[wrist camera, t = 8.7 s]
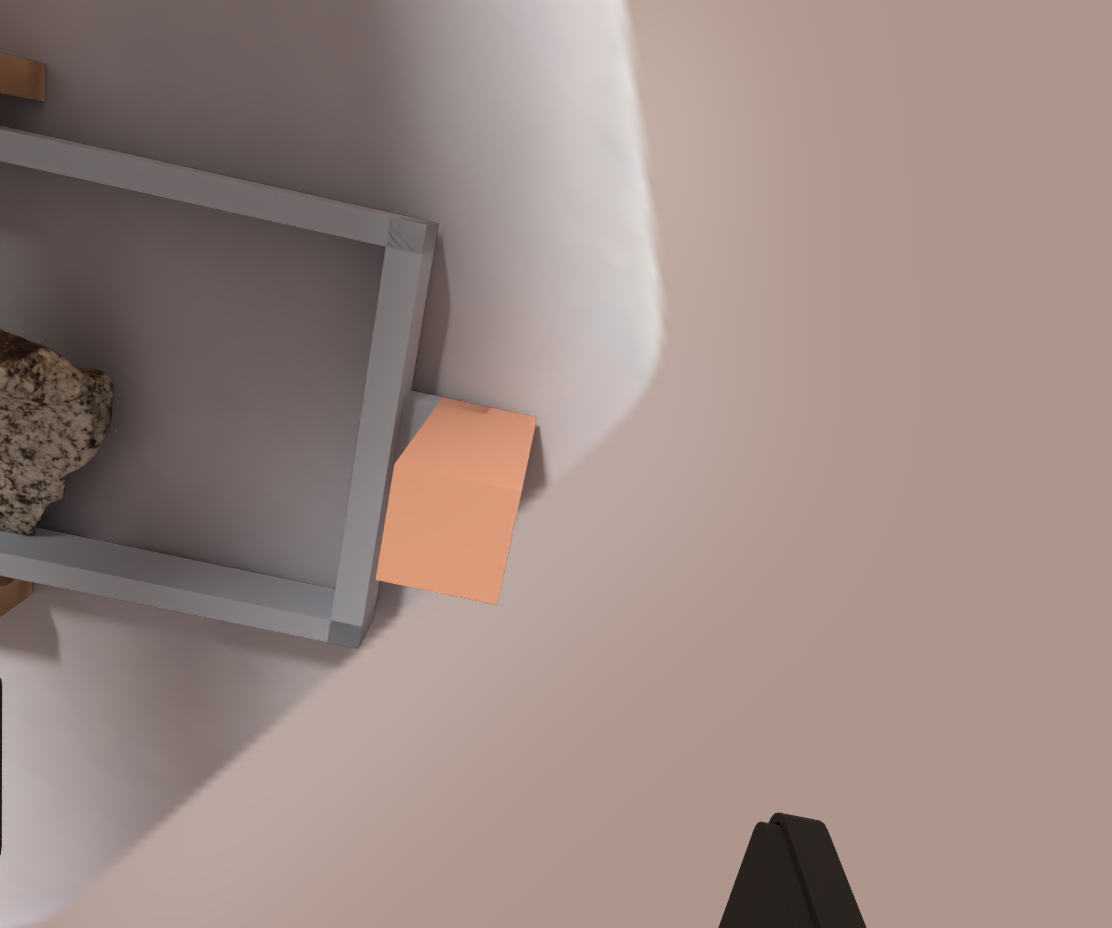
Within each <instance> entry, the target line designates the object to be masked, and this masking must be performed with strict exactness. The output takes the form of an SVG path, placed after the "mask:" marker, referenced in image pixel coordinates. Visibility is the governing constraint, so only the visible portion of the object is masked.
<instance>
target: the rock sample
mask: <svg viewBox="0 0 1112 928" xmlns="http://www.w3.org/2000/svg"><path fill="white" fill-rule="evenodd" d="M45 341H46V340H45ZM113 394H114V390H113V382H112V381H111V380H110V378H109V377H108V376H107V375H106V373H104V372H101V371H99V370H95V369H81V368H77V367H75V366H73V365H72V364H71V363H69V362H68V361H67V360H66V359H65V357H62V356H61V355H59V354H58V353H56V352H55V351H54V350H52V349H50V348H48V347H46V346H45V345H41V344H36V343H33V342H31V341H29V340H26V339H24V338H22V337H19V336H16V335H14V334H11V333H8V332H6V331H4V330H2V329H0V531H3V532H9V533H14V534H22V535H28V536H31V535H35V530H34V527H35V526H36V524H38V523H39V522H40V521H41V516H42V514H43V512H44V510H45V508H46V506H47V505H48V504H50V503H52V502H55V501H58V500H61V499H62V497H63V494H64V491H65V483H66V479H67V476H68V474H69V473H71V472H73V471H75V470H77V469H80V468H82V467H83V466H84V465H86V464H87V463H88V462H89V461H91V460H92V459H93V458H94V457H95V456H96V455H97V453H98V451H99V448H100V446H101V447H102V441H103V439H104V437H105V436H106V434H107V431H108V429H109V426H110V423H111V418H112V398H111V396H112V395H113ZM117 431H118V430H116V431H115V432H117ZM71 498H72V497H71ZM126 558H127V557H126Z"/></svg>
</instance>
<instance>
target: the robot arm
mask: <svg viewBox="0 0 1112 928" xmlns="http://www.w3.org/2000/svg"><path fill="white" fill-rule="evenodd" d="M1 848H2V681H1V678H0V855H1ZM719 928H866V925H865V923H864V921H863V918H862V915H861V913H860V910H859V908H858V905H857V903H856V900H855V898H854V895H853V893H852V890H851V888H850V885H849V883H848V880H847V878H846V875H845V872H844V870H843V868H842V865H841V862H840V860H839V857H838V855H837V852H836V850H835V847H834V845H833V842H832V840H831V837H830V834H829V832H828V830H827V828H826V826H825V824H824V823H823V822H821V821H819V820H814V819H809V818H804V817H799V816H794V815H788V814H783V813H775V814H774V815H773V816H772V817H771V819H770V821H769V823H765V822H759V823H757V825H756V826H755V828H754V830H753V833H752V836H751V839H750V841H749V844H748V847H747V850H746V853H745V855H744V858H743V861H742V864H741V867H740V869H739V872H738V875H737V878H736V880H735V883H734V886H733V889H732V892H731V894H730V897H729V900H728V903H727V906H726V908H725V911H724V914H723V917H722V920H721V922H720V925H719Z"/></svg>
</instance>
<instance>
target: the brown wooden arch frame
mask: <svg viewBox="0 0 1112 928" xmlns="http://www.w3.org/2000/svg"><path fill="white" fill-rule="evenodd" d="M45 77H46V64H43V63H39V62H35V61H31V60H27V59H24V58H20V57H16V56H12V55H9V54H5V53H1V52H0V93H3V94H8V95H13V96H18V97H23V98H28V99H33V100H39V101H44V102H45ZM32 590H33V582H29V581H24V580H19V579H15V578H10V577H5V576H0V616H2V615H3V614H5V613H6V612H7V611H9V610H10V609H12V608H13V607H14V606H16V605H17V604H19V603H20V602H22V601H23V600H24V599H26V598H27V597H29V596H30V595H31V594H32Z"/></svg>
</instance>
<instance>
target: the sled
mask: <svg viewBox="0 0 1112 928" xmlns="http://www.w3.org/2000/svg"><path fill="white" fill-rule="evenodd" d="M0 161H2V162H6V163H11V164H15V165H20V166H24V167H29V168H33V169H38V170H42V171H47V172H51V173H56V174H60V175H65V176H69V177H74V178H78V179H83V180H87V181H92V182H96V183H101V184H105V185H110V186H114V187H119V188H123V189H128V190H132V191H137V192H141V193H146V194H150V195H155V196H159V197H164V198H169V199H173V200H178V201H182V202H187V203H191V204H196V205H200V206H205V207H209V208H214V209H218V210H223V211H227V212H232V213H236V214H241V215H245V216H250V217H254V218H259V219H263V220H268V221H272V222H277V223H281V224H286V225H290V226H295V227H299V228H304V229H308V230H313V231H317V232H322V233H326V234H331V235H335V236H340V237H344V238H349V239H353V240H358V241H362V242H367V243H371V244H376V245H380V246H385V247H386V248H385V255H384V262H383V268H382V275H381V282H380V289H379V295H378V302H377V309H376V316H375V322H374V329H373V336H372V343H371V350H370V356H369V363H368V370H367V377H366V383H365V390H364V397H363V404H362V410H361V417H360V424H359V431H358V438H357V444H356V451H355V458H354V465H353V471H352V478H351V485H350V492H349V498H348V505H347V512H346V519H345V526H344V532H343V539H342V546H341V553H340V559H339V566H338V573H337V580H336V586H335V589H332V588H327V587H322V586H317V585H312V584H308V583H303V582H298V581H293V580H288V579H283V578H279V577H274V576H269V575H264V574H259V573H254V572H249V571H245V570H240V569H235V568H230V567H225V566H220V565H216V564H211V563H206V562H201V561H196V560H191V559H186V558H182V557H177V556H172V555H167V554H162V553H157V552H153V551H148V550H143V549H138V548H133V547H128V546H123V545H119V544H114V543H109V542H104V541H99V540H94V539H90V538H85V537H80V536H75V535H70V534H65V533H60V532H56V531H51V530H46V529H41V528H36V527H34V530H35V535H31V536H28V535H22V534H14V533H9V532H3V531H0V576H5V577H10V578H15V579H19V580H24V581H29V582H34V583H39V584H44V585H49V586H54V587H59V588H64V589H68V590H73V591H78V592H83V593H88V594H93V595H98V596H103V597H108V598H113V599H118V600H122V601H127V602H132V603H137V604H142V605H147V606H152V607H157V608H162V609H167V610H171V611H176V612H181V613H186V614H191V615H196V616H201V617H206V618H211V619H216V620H220V621H225V622H230V623H235V624H240V625H245V626H250V627H255V628H260V629H265V630H270V631H274V632H279V633H284V634H289V635H294V636H299V637H304V638H309V639H314V640H319V641H323V642H328V643H333V644H338V645H343V646H348V647H353V648H359V646H360V644H361V642H362V640H363V638H364V637H365V635H366V633H367V631H368V629H369V627H370V625H371V623H372V621H373V619H374V613H375V606H376V600H377V594H378V588H379V582H380V581H384V582H388V583H393V584H398V585H403V586H408V587H413V588H417V589H422V590H427V591H432V592H437V593H442V594H447V595H451V596H456V597H461V598H466V599H470V600H475V601H480V602H485V603H490V604H495V605H497V604H498V600H499V595H500V590H501V586H502V581H503V576H504V572H505V567H506V563H507V558H508V553H509V549H510V543H511V539H512V535H513V530H514V525H515V521H516V516H517V511H518V507H519V502H520V497H521V493H522V488H523V483H524V478H525V473H526V469H527V464H528V459H529V454H530V449H531V444H532V440H533V435H534V430H535V425H536V420H537V417H532V416H528V415H523V414H519V413H514V412H509V411H505V410H500V409H495V408H491V407H486V406H481V405H477V404H472V403H468V402H463V401H458V400H454V399H449V398H444V397H440V396H435V395H431V394H426V393H421V392H417V391H412V390H411V389H412V383H413V376H414V370H415V364H416V358H417V352H418V346H419V340H420V334H421V328H422V322H423V316H424V310H425V304H426V298H427V292H428V286H429V280H430V274H431V268H432V262H433V255H434V249H435V243H436V237H437V231H438V225H439V223H435V222H430V221H426V220H422V219H417V218H413V217H408V216H404V215H399V214H395V213H390V212H386V211H381V210H377V209H372V208H368V207H363V206H359V205H354V204H350V203H345V202H341V201H336V200H332V199H328V198H323V197H319V196H314V195H310V194H305V193H301V192H296V191H292V190H287V189H283V188H278V187H274V186H269V185H265V184H260V183H256V182H251V181H247V180H243V179H238V178H234V177H229V176H225V175H220V174H216V173H211V172H207V171H202V170H198V169H193V168H189V167H184V166H180V165H175V164H171V163H166V162H162V161H157V160H153V159H149V158H144V157H140V156H135V155H131V154H126V153H122V152H117V151H113V150H108V149H104V148H99V147H95V146H90V145H86V144H81V143H77V142H72V141H68V140H64V139H59V138H55V137H50V136H46V135H41V134H37V133H32V132H28V131H23V130H19V129H14V128H10V127H5V126H1V125H0ZM126 557H127V558H126Z"/></svg>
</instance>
